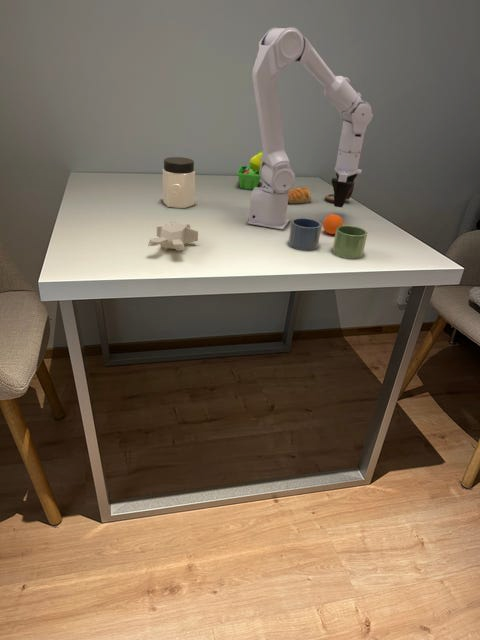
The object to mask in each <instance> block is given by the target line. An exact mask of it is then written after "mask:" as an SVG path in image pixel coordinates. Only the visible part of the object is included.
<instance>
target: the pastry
mask: <svg viewBox="0 0 480 640" xmlns="http://www.w3.org/2000/svg"><path fill="white" fill-rule="evenodd" d="M310 201H312V195H311V192H310V189H308V188H307V187H296V188H291V189H290V190H289V197H288V204H290V205H294V204H297V205H298V204H307V203H310Z"/></svg>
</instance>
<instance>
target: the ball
mask: <svg viewBox="0 0 480 640" xmlns="http://www.w3.org/2000/svg"><path fill="white" fill-rule="evenodd" d="M322 226H323V227H322V228H323V229H324V231H325V232H326V233H327V234H329V235H335V234H336V229H337V227H339V226H344V221H343V218H342V217H341V216H340V215H338V214H333V213H332V214H328V215H327V216H326V217H325V218H324V220H323V222H322Z"/></svg>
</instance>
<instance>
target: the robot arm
mask: <svg viewBox="0 0 480 640" xmlns="http://www.w3.org/2000/svg"><path fill="white" fill-rule="evenodd" d="M254 61H255V62H254V64H253V68H252V71H251V77H252V84H253V91H254V97H255V104H256V111H257V118H258V124H259V132H260V139H261V144H262V151H263V154H262V156H261V167H260V180H262V184H261V186H259V187H258V186H257V187H255V188H254V189H252V192H251V197H250V202H249V203H250V205H249V213H248V214H249V216H248V221H247V224H248V225H253V226H259V227H265V228H270V229H277V230H284V229H285V227H286V226H287V225H288V223H289V222H290V219H289V218H287V212H288V205H289V203H288V197H289V191H290V190H291V189H293V187H294V185H295V181H296V174H295V172H294V171H293V169H292V167H291V163H290V159H289V156H288V155H287V152H286V149H285V142H284V132H283V125H282V116H281V108H280V100H279V93H278V83H277V80H278V79H279V77H280V76H281V74H282V73H283V72H284V71H285V69H286V68H287V67H288V66H290V65H291V64H292V63H296V64H299V65H302V66H303V67H304V69H305V70H306V71H308V73H310V74H311V76H313V77H314V79H315V80H317V82H318V83H319V84H320V85H322V87H323V96H324V98H326V100H327V101H328V102H329V103H330V104H331V105H332V106H333V107H334V108H335V110H336V111H338V113H339V117H340V119H341V121H342V126H341V132H340V138H339V144H338V150H337V156H336V161H335V166H334V169H333V170H334V171H335V175H336V178H335V177H332V178H331V184H332V189H333V194H334V203H333V204H334V207H336V208H344V207H343V206H344V204H345V202H346V200H347V199H346V197H347V195H348V192H349V190H350V188H351V187H352V185H353V184H354V185H355V179H356V177H357V176H358V174H359V175H360V174H362V172H363V170H362V169H360V168H359V164H360V158H361V153H362V147H363V144H364V138H365V133H366V131H367V127H368V125H369V124H370V123H371V121H372V120H373V117H374V113H372V112H373V110H372V106H371V104H370V103H369V102H368V101H365V100H362V94H361V93H360V92H358V91H356V90H355V88H353V87H352V85H350V83H351V80H350V79H349V77H346V76H343V75H335V74H334V73H333V71H332V70H331V68H330V67H329V66H328V65H327V64H326V62H325V61H324V59H322V57H321V56H320V54H319V53H318V51H316V49H315V48H314V46H313V45H312V44H311V42H310V40H309V39H308V38H306V37H305V36H303V34H302V33H301V31H300V30H299V29H297V28H296V27H286V28H283V27H281V28H280V27H272V28H270V29H269V30H267V31H266V33H265V34H264V35H263V36H262V37H261V39H260V40H259V42H258V52H257V55H256V58H255V60H254ZM353 181H354V182H353ZM345 199H346V200H345Z"/></svg>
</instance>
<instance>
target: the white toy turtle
mask: <svg viewBox="0 0 480 640" xmlns="http://www.w3.org/2000/svg"><path fill="white" fill-rule="evenodd" d="M198 240H199V231H198V230H195V229H192V228H191V226H190V224H189V223H180V222H174V221H173V222H172V221H170V224H164V225H161V226H157V227H156V237H154V238H151V239H149V241H148V243H147V245H148V247H156V246H158V245H160V247H161V248H163V250H165V251H168V250H169V249H171V250H172V249H173V250H175V251H176V252H180V251H184V250H186V247H185V245H187V244H191V243H195V242H198Z"/></svg>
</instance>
